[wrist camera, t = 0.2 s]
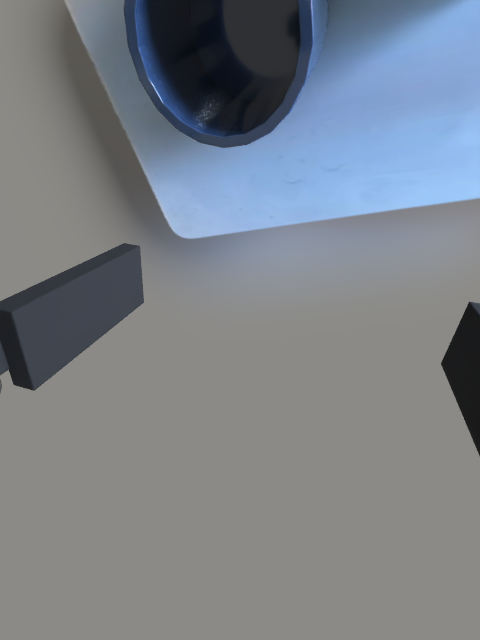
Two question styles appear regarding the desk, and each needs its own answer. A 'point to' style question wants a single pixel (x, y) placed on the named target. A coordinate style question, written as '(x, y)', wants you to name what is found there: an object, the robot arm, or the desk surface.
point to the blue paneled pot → (225, 62)
